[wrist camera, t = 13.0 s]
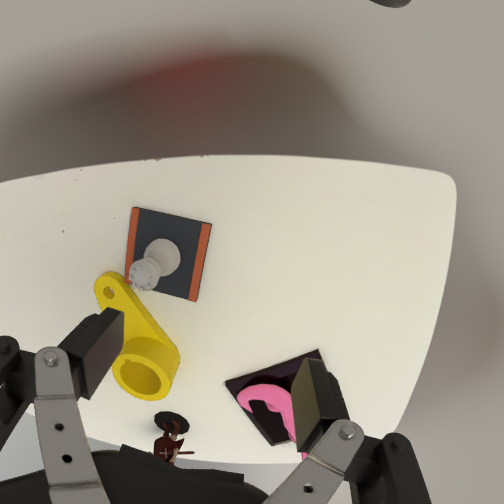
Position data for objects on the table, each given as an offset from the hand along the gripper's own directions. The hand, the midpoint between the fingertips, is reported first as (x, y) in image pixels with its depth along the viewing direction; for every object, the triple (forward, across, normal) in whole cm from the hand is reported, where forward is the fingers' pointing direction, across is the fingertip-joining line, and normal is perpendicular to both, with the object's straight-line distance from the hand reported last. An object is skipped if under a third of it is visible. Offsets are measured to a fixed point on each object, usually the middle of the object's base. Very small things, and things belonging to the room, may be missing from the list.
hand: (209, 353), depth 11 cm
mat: (+23, +8, +5) cm, 25 cm away
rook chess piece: (+22, +8, +5) cm, 24 cm away
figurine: (+23, +4, +37) cm, 44 cm away
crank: (+23, +11, +17) cm, 31 cm away
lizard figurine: (+23, -15, +26) cm, 37 cm away
